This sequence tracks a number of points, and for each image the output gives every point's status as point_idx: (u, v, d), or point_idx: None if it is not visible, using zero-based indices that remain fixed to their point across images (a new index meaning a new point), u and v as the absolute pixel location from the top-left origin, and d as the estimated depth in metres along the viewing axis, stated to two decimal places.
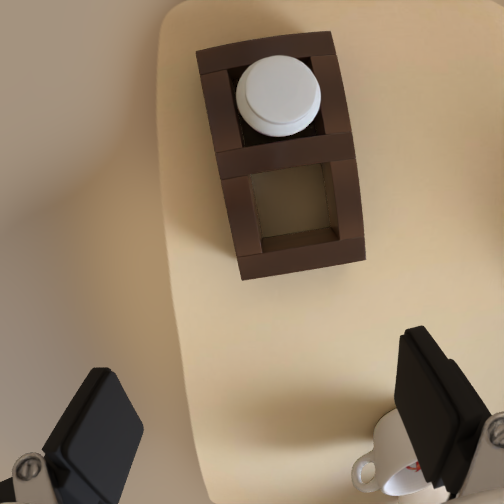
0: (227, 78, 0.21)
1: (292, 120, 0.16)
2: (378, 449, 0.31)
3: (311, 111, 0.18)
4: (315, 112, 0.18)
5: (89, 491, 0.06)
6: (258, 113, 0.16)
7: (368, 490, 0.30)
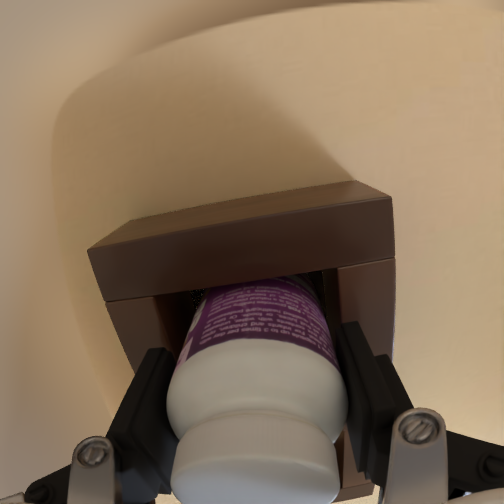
0: (156, 315, 0.11)
1: None
2: None
3: None
4: None
5: (153, 472, 0.07)
6: None
7: None
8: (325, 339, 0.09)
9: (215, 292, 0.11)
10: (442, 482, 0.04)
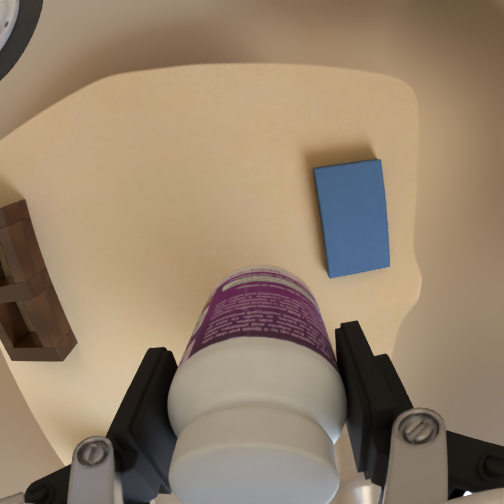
0: None
1: None
2: None
3: None
4: None
5: (153, 472, 0.07)
6: None
7: None
8: (324, 342, 0.09)
9: (218, 299, 0.12)
10: (442, 482, 0.04)
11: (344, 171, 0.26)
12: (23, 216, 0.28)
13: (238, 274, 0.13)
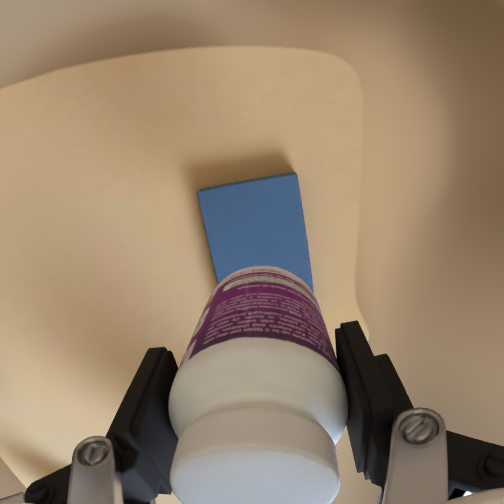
0: None
1: None
2: None
3: None
4: None
5: (153, 472, 0.07)
6: None
7: None
8: (325, 342, 0.09)
9: (219, 299, 0.12)
10: (442, 482, 0.04)
11: (240, 192, 0.19)
12: None
13: (238, 274, 0.13)
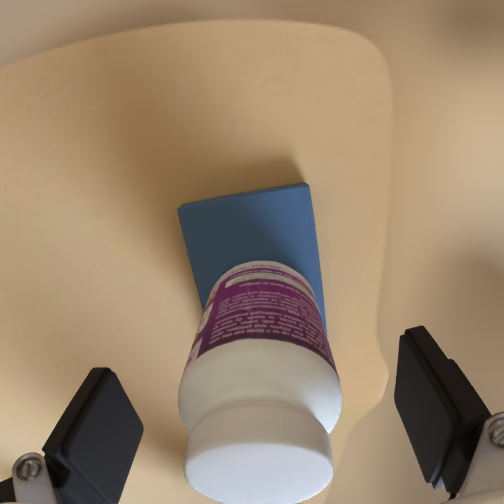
0: None
1: None
2: None
3: None
4: None
5: (89, 491, 0.06)
6: (215, 500, 0.07)
7: None
8: (321, 340, 0.10)
9: (221, 296, 0.12)
10: None
11: (233, 209, 0.14)
12: None
13: (239, 269, 0.14)
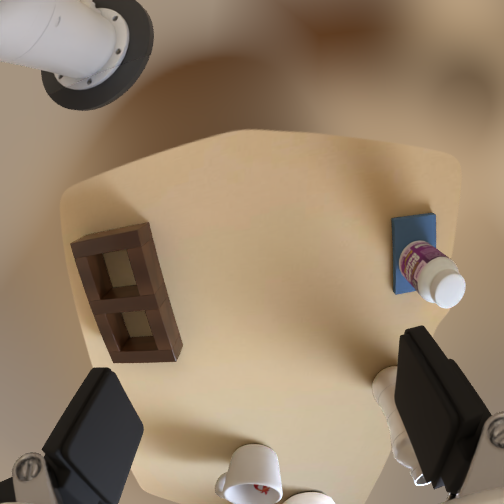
0: (87, 262, 0.37)
1: None
2: None
3: None
4: None
5: (89, 491, 0.06)
6: (438, 304, 0.29)
7: (222, 497, 0.45)
8: None
9: (417, 250, 0.34)
10: None
11: (412, 221, 0.36)
12: (149, 237, 0.39)
13: (416, 243, 0.36)
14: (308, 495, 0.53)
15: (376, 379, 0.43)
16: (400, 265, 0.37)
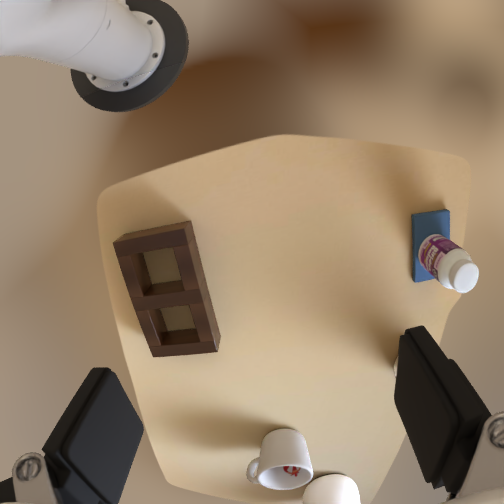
0: (130, 260, 0.40)
1: (466, 291, 0.33)
2: None
3: None
4: None
5: (90, 491, 0.06)
6: (456, 289, 0.33)
7: (254, 482, 0.49)
8: None
9: (435, 243, 0.38)
10: None
11: (430, 217, 0.40)
12: (192, 235, 0.42)
13: (433, 236, 0.39)
14: (331, 477, 0.58)
15: (397, 360, 0.46)
16: (419, 256, 0.41)
